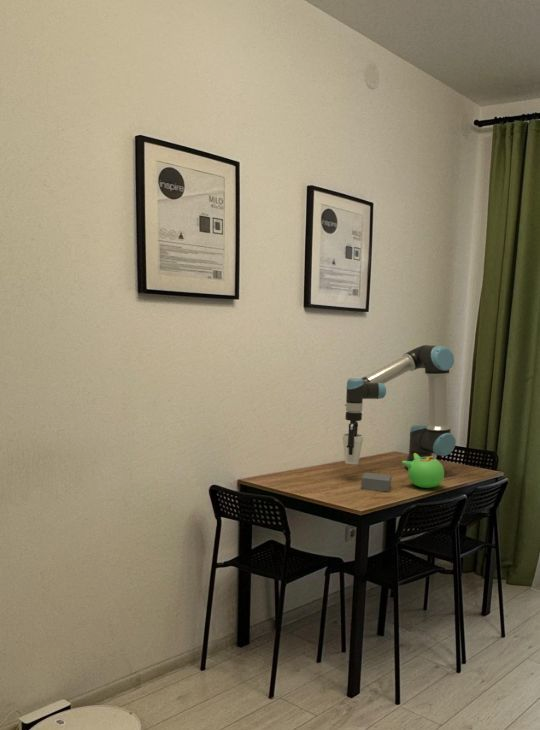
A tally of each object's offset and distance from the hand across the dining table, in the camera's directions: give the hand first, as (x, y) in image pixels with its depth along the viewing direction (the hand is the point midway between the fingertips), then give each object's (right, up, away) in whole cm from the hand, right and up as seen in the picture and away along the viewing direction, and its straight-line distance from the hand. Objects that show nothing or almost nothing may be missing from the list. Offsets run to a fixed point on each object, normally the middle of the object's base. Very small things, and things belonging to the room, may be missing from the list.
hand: (351, 459), depth 291 cm
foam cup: (0, -2, 0) cm, 2 cm away
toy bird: (+32, -12, -7) cm, 35 cm away
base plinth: (+9, -11, -13) cm, 19 cm away
